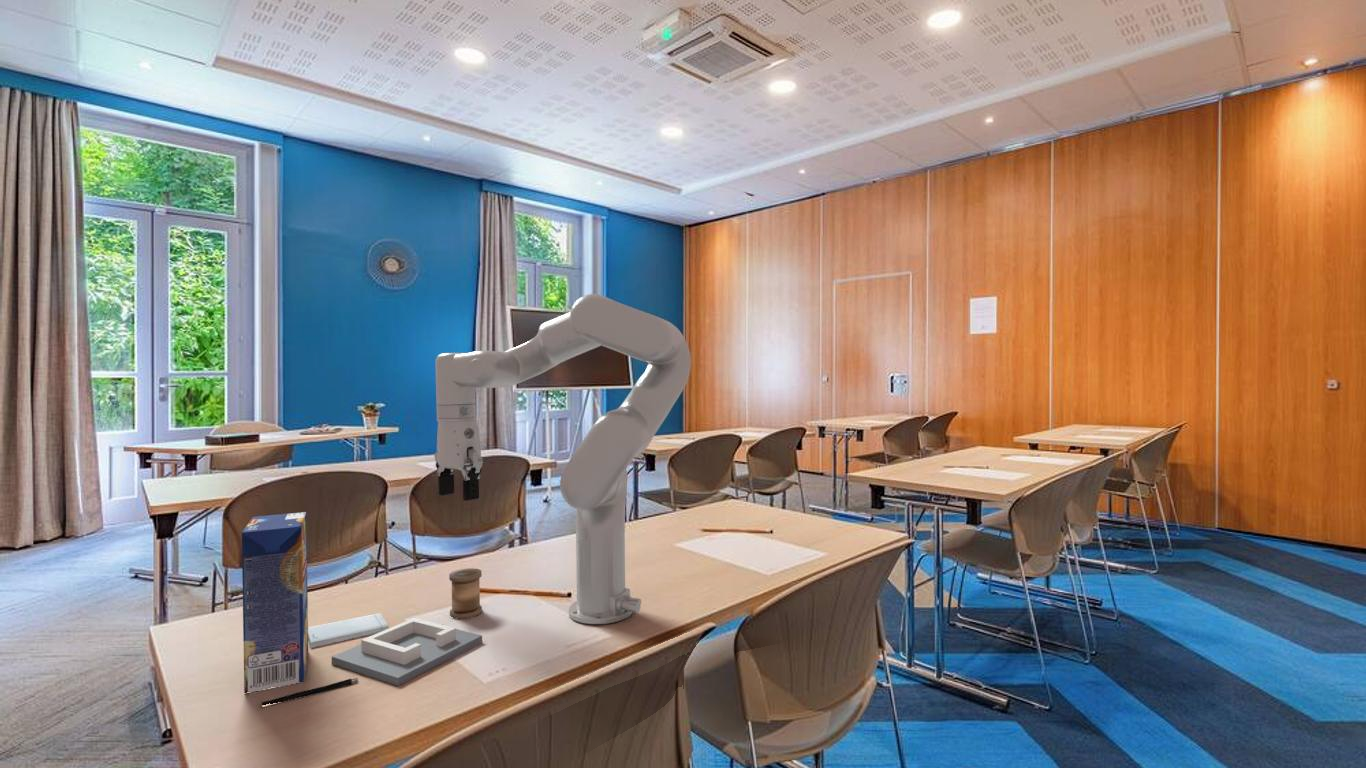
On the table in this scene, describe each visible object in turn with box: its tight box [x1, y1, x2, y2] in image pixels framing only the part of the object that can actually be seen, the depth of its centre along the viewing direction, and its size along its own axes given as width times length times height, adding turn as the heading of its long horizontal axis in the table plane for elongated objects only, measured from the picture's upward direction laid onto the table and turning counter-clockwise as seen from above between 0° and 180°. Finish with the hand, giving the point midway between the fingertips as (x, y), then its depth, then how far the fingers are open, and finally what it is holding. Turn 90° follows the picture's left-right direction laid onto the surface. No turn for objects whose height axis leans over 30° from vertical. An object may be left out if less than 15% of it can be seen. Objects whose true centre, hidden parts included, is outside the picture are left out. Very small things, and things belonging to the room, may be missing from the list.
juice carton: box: [241, 511, 309, 693], centre depth 97 cm, size 12×8×24 cm, turn 28°
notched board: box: [331, 617, 483, 686], centre depth 104 cm, size 16×17×3 cm
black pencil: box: [261, 677, 359, 706], centre depth 91 cm, size 12×1×1 cm, turn 125°
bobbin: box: [448, 568, 483, 620], centre depth 121 cm, size 6×6×8 cm
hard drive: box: [308, 612, 390, 649], centre depth 113 cm, size 2×8×12 cm
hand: (458, 496), depth 126 cm, fingers open, 9 cm apart
